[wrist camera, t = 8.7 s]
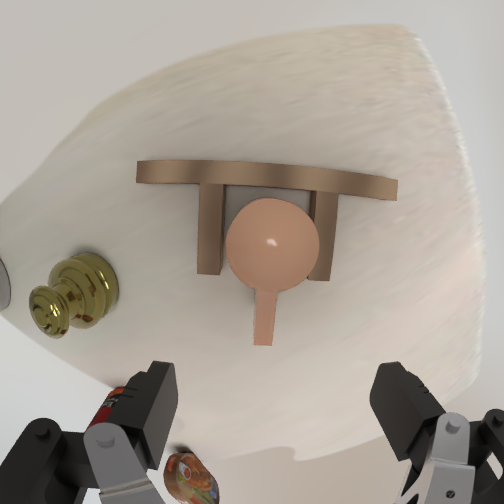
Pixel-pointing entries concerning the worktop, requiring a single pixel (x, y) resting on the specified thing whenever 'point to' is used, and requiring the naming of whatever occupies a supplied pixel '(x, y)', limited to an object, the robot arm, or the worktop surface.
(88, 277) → the brass doorknob
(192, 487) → the tin
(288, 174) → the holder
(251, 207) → the tan paddle shape
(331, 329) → the worktop surface
